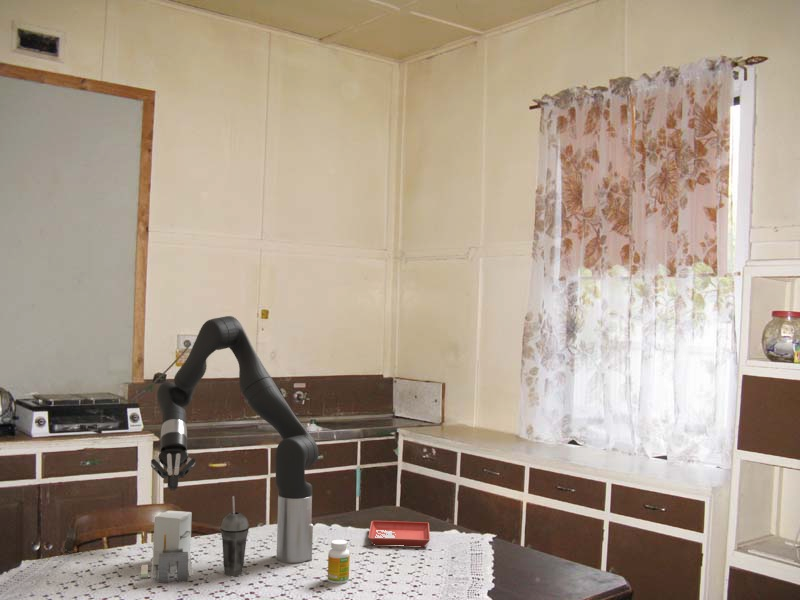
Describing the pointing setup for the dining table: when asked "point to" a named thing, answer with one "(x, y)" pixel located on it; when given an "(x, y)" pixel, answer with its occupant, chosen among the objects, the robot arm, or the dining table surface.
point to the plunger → (173, 564)
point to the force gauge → (163, 567)
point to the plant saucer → (400, 533)
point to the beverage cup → (234, 542)
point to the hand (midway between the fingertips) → (172, 489)
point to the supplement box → (172, 532)
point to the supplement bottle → (338, 562)
